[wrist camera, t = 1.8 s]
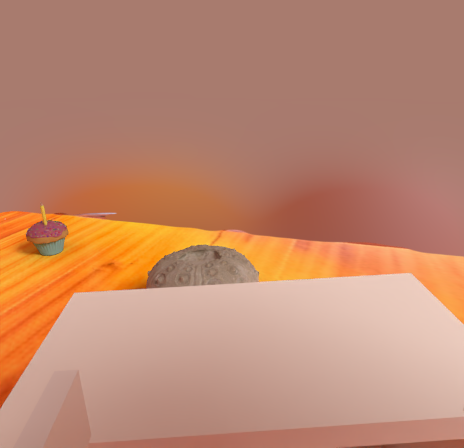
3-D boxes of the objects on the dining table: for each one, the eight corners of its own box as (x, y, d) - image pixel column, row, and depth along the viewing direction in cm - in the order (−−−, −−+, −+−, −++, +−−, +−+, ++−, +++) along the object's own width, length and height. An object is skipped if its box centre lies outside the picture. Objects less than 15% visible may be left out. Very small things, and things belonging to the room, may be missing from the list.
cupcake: (74, 253, 89) (64, 201, 85) (32, 263, 86) (19, 209, 81) (68, 241, 97) (58, 192, 92) (29, 249, 93) (17, 199, 89)
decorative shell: (155, 286, 74) (149, 235, 70) (252, 279, 75) (251, 228, 71) (142, 347, 57) (133, 284, 54) (267, 337, 58) (267, 274, 55)
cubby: (391, 435, 42) (410, 273, 35) (488, 627, 27) (551, 410, 21) (106, 455, 41) (74, 293, 34) (47, 666, 26) (-28, 451, 20)
